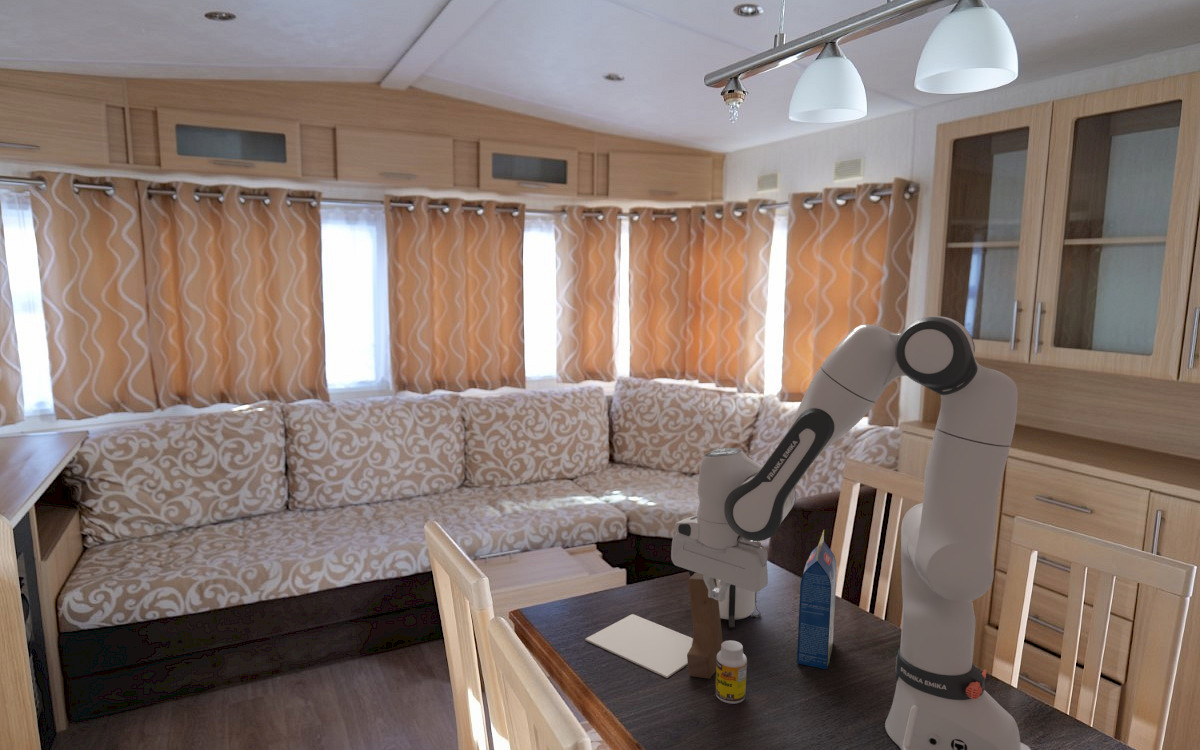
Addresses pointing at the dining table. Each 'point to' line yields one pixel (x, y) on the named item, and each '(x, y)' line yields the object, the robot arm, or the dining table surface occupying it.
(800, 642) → the blue food package
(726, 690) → the supplement bottle
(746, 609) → the coffee press
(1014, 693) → the dining table surface
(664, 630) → the mat
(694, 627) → the wooden block
